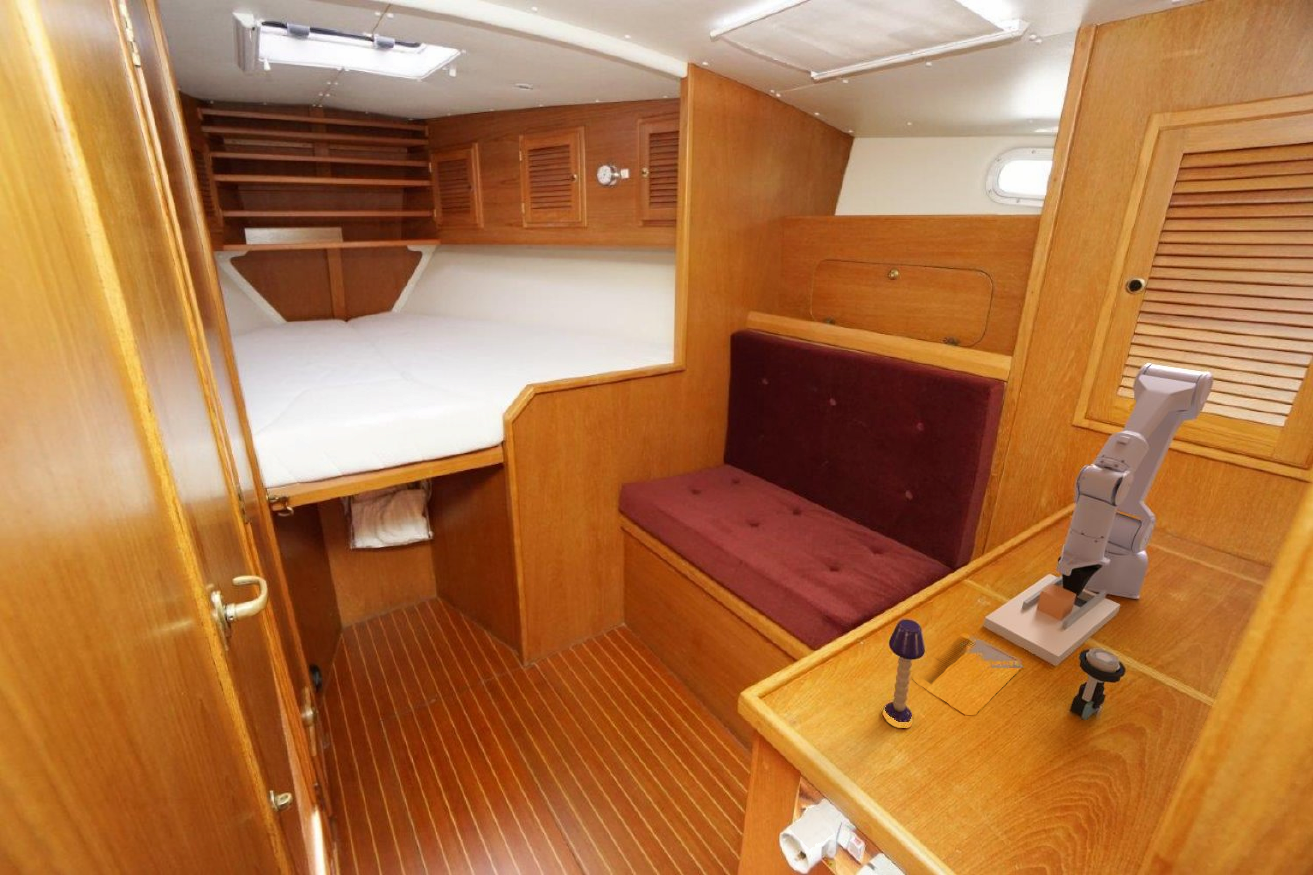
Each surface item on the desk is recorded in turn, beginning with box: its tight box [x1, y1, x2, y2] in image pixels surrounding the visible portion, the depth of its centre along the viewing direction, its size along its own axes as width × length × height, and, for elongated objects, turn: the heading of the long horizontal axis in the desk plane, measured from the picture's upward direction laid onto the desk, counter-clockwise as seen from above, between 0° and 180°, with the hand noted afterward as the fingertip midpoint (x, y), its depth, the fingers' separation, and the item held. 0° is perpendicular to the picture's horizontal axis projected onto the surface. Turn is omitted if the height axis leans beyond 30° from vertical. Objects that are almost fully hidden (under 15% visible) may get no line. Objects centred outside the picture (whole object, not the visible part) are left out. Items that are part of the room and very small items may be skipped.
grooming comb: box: [962, 636, 1024, 669], centre depth 93 cm, size 18×10×1 cm, turn 127°
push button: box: [1069, 647, 1126, 721], centre depth 84 cm, size 7×5×10 cm
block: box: [1037, 583, 1076, 621], centre depth 103 cm, size 4×4×4 cm
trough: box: [982, 573, 1121, 667], centre depth 104 cm, size 24×12×4 cm, turn 123°
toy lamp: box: [884, 618, 926, 722], centre depth 82 cm, size 5×5×17 cm
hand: (1070, 594), depth 106 cm, fingers closed
